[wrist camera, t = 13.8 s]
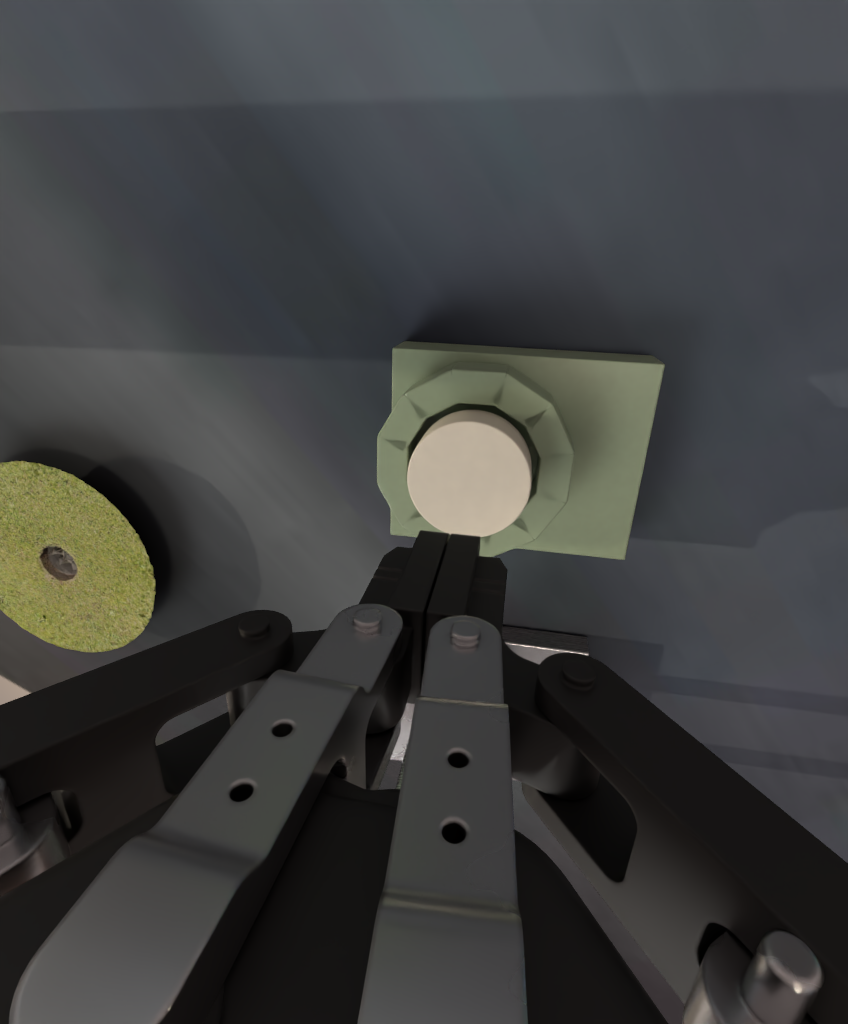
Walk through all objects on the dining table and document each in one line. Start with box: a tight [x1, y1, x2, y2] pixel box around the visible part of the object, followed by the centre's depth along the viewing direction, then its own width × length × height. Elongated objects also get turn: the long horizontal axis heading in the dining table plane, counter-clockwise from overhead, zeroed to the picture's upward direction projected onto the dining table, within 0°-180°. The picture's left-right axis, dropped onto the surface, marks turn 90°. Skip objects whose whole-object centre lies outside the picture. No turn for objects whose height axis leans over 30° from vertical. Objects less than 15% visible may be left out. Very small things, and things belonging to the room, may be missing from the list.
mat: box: [0, 461, 156, 652], centre depth 30 cm, size 11×11×2 cm
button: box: [407, 410, 532, 537], centre depth 20 cm, size 4×4×2 cm
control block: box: [377, 341, 665, 560], centre depth 22 cm, size 10×8×4 cm
